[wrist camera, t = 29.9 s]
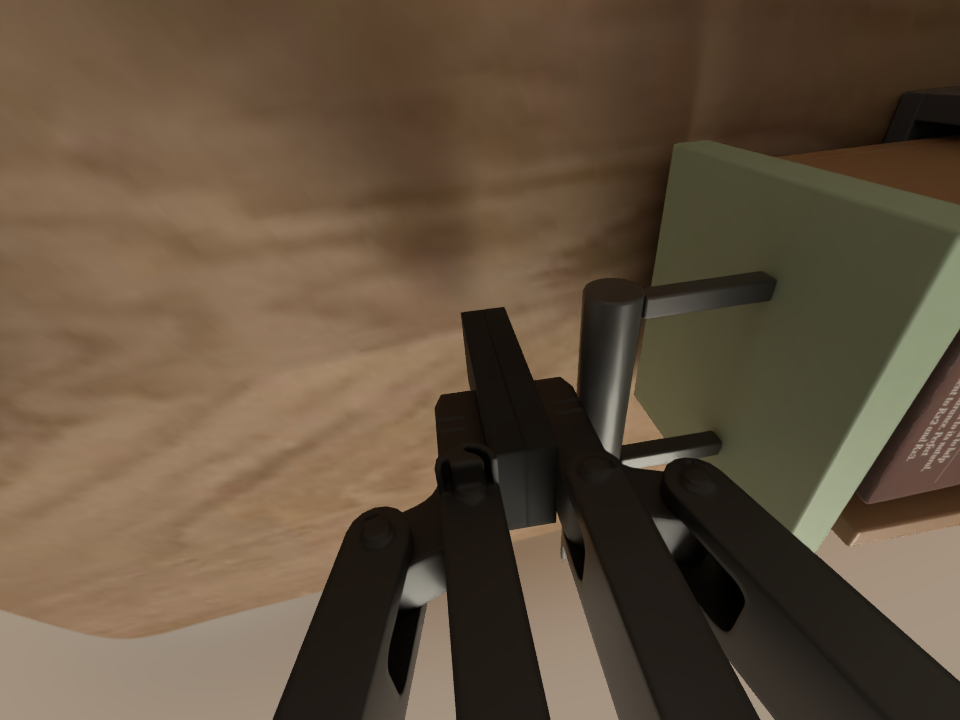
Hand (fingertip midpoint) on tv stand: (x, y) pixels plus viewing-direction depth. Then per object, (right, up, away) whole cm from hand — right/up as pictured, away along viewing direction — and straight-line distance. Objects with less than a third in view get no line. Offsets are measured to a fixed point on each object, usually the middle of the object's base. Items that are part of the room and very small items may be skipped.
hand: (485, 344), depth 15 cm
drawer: (+11, +3, +2) cm, 11 cm away
